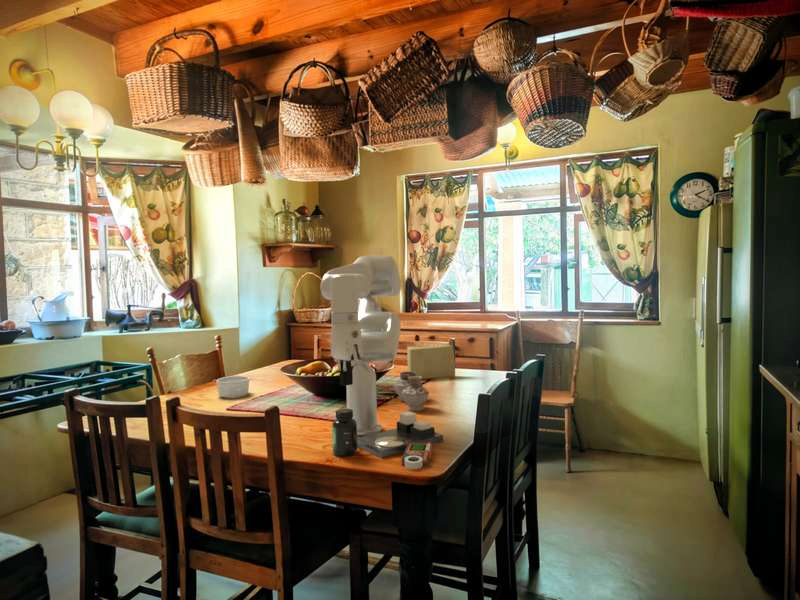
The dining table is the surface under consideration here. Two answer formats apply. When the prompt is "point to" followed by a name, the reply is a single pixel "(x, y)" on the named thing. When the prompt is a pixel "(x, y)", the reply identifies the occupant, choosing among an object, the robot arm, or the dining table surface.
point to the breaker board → (397, 439)
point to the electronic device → (417, 454)
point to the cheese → (431, 361)
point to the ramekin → (233, 386)
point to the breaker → (407, 418)
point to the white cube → (422, 425)
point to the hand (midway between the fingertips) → (346, 384)
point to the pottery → (411, 390)
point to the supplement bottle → (344, 433)
